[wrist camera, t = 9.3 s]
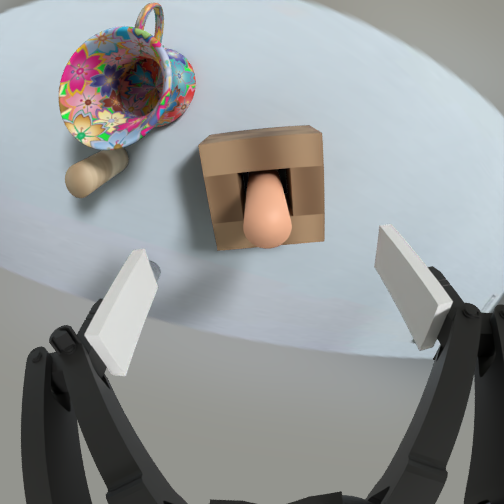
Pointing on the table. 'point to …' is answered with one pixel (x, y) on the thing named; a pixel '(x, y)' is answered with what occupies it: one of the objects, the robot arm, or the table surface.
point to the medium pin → (95, 171)
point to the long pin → (266, 210)
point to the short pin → (155, 270)
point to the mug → (124, 85)
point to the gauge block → (264, 158)
